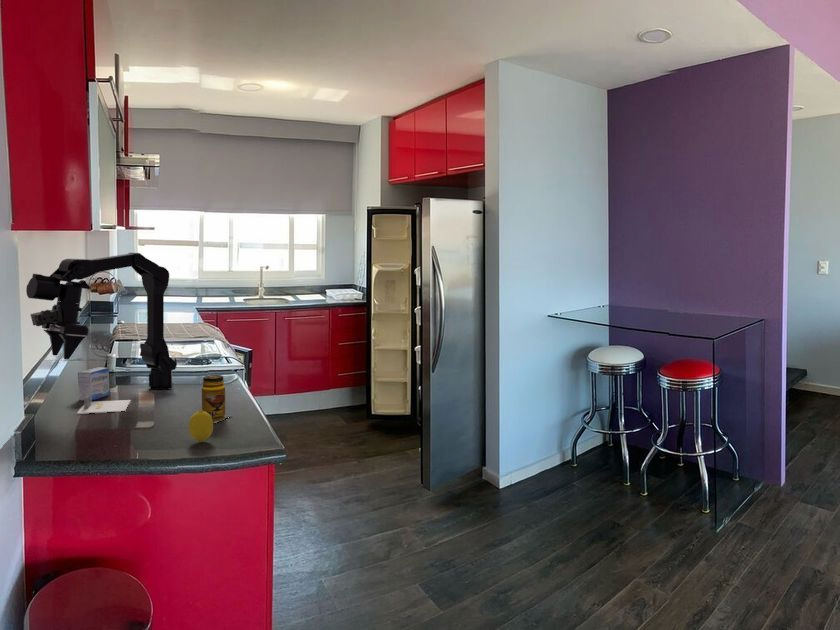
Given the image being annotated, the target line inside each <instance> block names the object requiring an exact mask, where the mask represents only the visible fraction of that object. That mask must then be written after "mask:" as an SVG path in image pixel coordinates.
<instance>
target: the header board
mask: <svg viewBox="0 0 840 630" xmlns="http://www.w3.org/2000/svg"><path fill="white" fill-rule="evenodd" d="M83 402H84V403H83V405H82V406H81V407H80V408H79V409H78V411H77V412H76V415H90V414H89V413H95V414H108V413H107V412H115V413H122V412H121V411H125V412H126V411H127V410H126V409H128V408H129V406H130V404H131V402H132V399H125V400H124V399H121V400H120V399H119V400H118V399H117V400H99V401H98V400H97V401H96V400H94V401H91V400H90V395H86V397H85V398H84V400H83ZM128 405H129V406H128ZM127 407H128V408H127Z"/></svg>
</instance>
